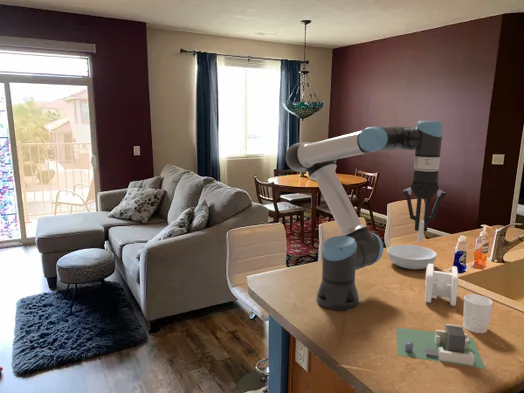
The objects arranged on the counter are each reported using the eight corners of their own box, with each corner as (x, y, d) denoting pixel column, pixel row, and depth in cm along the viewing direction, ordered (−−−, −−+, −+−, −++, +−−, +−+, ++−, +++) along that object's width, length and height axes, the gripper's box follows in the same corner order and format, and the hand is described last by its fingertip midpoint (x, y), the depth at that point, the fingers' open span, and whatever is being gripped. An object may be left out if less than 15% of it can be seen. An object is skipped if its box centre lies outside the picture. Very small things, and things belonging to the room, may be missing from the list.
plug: (447, 357, 109) (449, 333, 108) (444, 346, 115) (446, 323, 114) (463, 360, 108) (465, 335, 107) (459, 348, 114) (461, 325, 112)
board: (397, 356, 111) (398, 347, 110) (396, 328, 126) (396, 320, 125) (485, 370, 104) (486, 360, 104) (472, 339, 119) (473, 330, 119)
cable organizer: (455, 310, 138) (458, 279, 136) (423, 304, 142) (425, 274, 140) (454, 293, 151) (457, 265, 149) (424, 289, 155) (427, 261, 153)
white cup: (464, 320, 131) (467, 291, 129) (491, 327, 126) (494, 298, 124) (458, 329, 125) (461, 300, 123) (486, 338, 120) (490, 307, 118)
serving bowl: (386, 256, 194) (387, 242, 192) (433, 260, 187) (434, 246, 186) (386, 271, 174) (387, 256, 173) (437, 276, 168) (439, 261, 167)
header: (439, 360, 108) (440, 348, 108) (434, 340, 118) (435, 329, 118) (473, 365, 106) (474, 353, 105) (465, 344, 116) (466, 333, 115)
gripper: (404, 170, 125) (399, 241, 130) (449, 172, 121) (442, 245, 126) (404, 167, 132) (399, 235, 137) (446, 169, 128) (440, 239, 133)
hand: (419, 240), depth 131 cm, fingers closed
